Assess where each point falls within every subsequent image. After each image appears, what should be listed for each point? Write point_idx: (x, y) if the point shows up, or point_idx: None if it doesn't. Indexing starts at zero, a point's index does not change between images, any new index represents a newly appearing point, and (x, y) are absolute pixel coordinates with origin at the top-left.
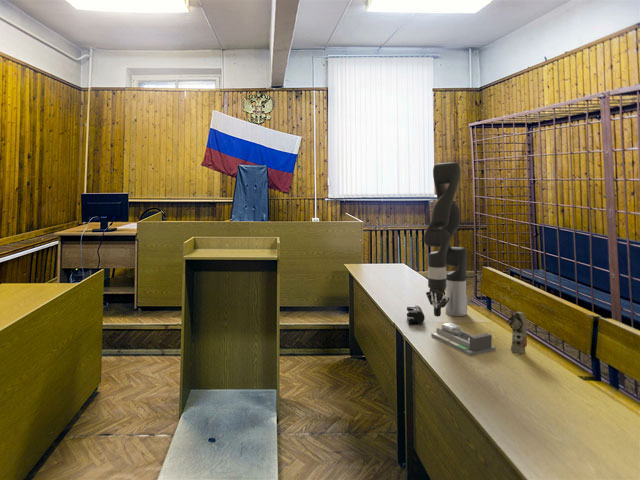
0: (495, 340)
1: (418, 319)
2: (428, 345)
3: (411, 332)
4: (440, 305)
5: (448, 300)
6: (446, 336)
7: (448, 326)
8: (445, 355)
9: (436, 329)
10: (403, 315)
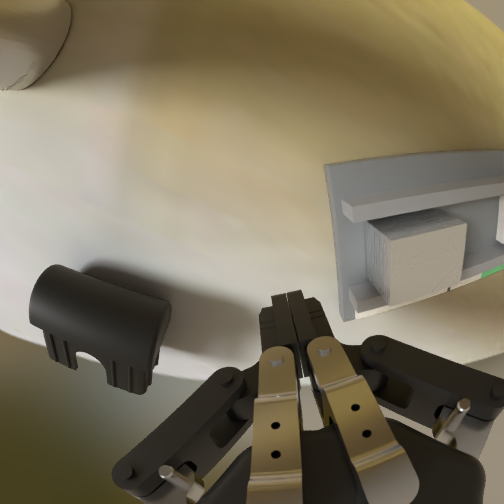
0: (459, 61)
1: (163, 333)
2: None
3: None
4: (398, 393)
5: (494, 381)
6: None
7: (435, 289)
8: (475, 322)
9: (355, 309)
10: None
